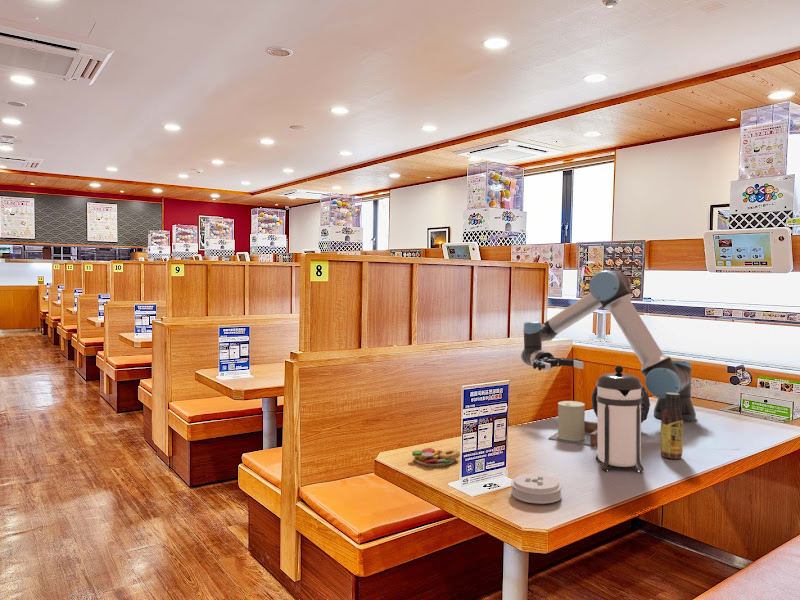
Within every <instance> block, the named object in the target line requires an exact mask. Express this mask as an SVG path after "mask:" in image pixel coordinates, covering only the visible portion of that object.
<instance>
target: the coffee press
mask: <svg viewBox="0 0 800 600" xmlns="http://www.w3.org/2000/svg"><path fill="white" fill-rule="evenodd" d="M614 371H615V372H611V373H610V372H608V373H604V374H602V375H600V376H599V377H598V379H597V381H596V382H595V386H596V385H597V416H596V419H597V422H596V423H597V432H598V444H597V455H596V456H595V460H596V461H597V460H599V461H598V462H602V463H603V464H602V468H601V469H602V471H604V472H607V470H608V472H609V471H610V469H611V467H620V468H621V467H623V468H628V467H631V468H633V469H634V470H636V472H637V471H638V470H640V473H643V472H644V467H643V466H642V463H641V461H642V459H641V458H642V423H641V404H642V397H641V389H642V387H644V386H643V383H642V382H641V380H640V378H638V376H636V375H633V374H629V373H623V371H624V368H623V366H622V365H617V366H615V368H614ZM642 471H643V472H642Z"/></svg>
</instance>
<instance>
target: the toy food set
mask: <svg viewBox="0 0 800 600" xmlns="http://www.w3.org/2000/svg"><path fill="white" fill-rule="evenodd" d="M411 453H412V455H411V456H413V457H414V458H413V460H414V461H415V462H416V463H418V464H419V465H421V466H425V467H433V468H438V467H439V468H441V467H446V466H449V465H452V464H453V463H454V462H455V461H456V460H457V459H458V458H460V457H461V452H460V450H458V449H453V448H452V449H447V450H445V451H444V450H443V451H442V450H439V449H438V450H435V448H432V447H428V448H424V449H422V450H414V451H412V452H411Z"/></svg>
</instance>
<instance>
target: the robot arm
mask: <svg viewBox="0 0 800 600" xmlns="http://www.w3.org/2000/svg"><path fill="white" fill-rule="evenodd" d="M588 285H589V286H588V288H589V293H587V294H585V295H584V296H583V297H581V298H580V299H578V300H577V301H575V302H573V303H572V304H571V305H569V306H567V307H566V308H565V309H563V310H561V311H560V312H558V313H557V314H555V315H554V316H552V317H551V318H549V319H547V320H546V321H545V322H543V323H542V324H541V322H540V321H525V322H523V350H522V352H521V353H520V358H521V361H522V362H523V363H524V364H526V366H529V367H532V368H533V369H534V370H535V369H537V370H538V371H542V370H543V371H548V372H551V371H552V368H553V367H562V366H565V367H573V368H576V369H580V370H584V368H585V367H584V366H585V365H584V361H581V359H580V358H579V359H578V358H566V357H555V356H554V355H553V354H552V353H551V352H549V351H545V350H543V349H542V346H543V342H546V341H547V342H549V341H552V340H554V339H555V337H557V335H558V334H560V333H562V332H563V331H565V330H567V329H569V328H570V327H571V326H572V325H575V324H576V323H577V322H579V321H581V320H582V319H583V318H586V316H588V315H590V314H592V313H593V312H594V311H596V310H599V308H601V307H602V308H603V309H604V310H607V311H609V312H610V313H611V315H612V317H613V318H614V320H615V323H617V326H619V328H620V330H621V332H622V333H623V335H624V337H625V338H626V340H627V342H628V344H629V345H630V347H631V348H632V350H633V352H634V354H635V355H636V357H637V358H638V360H639V362H640V364H641V368H640V372H641V373H642V375H643V377H644V378H645V380H644V381H645V383H644V384H645V387H646V389H647V392H649V393H650V394H651V395H652V396H653V397H657V401H656V402H655V406H654V408H653V416H654V417H655V418H657V419H659V418H660V420H661V419H662V413H663V411H664V410H665V408H666V393H678V394H680V399H679V409H680V412H681V415H682V418H683V423H685V422H693V421H696V419H697V412H696V410H695V408H694V404H693V401H692V370H693V369H692V363H691V362H690V361H689V360H679V359H672V358H671V356H670V355H666V354H664V353H663V352H662V350H661V348H660V347H659V345H658V344H657V342H656V340H655V338H654V337H653V335H652V334H651V332H650V330H649V329H648V327H647V325H646V324H645V322H644V320H643V319H642V317H641V316H640V314H639V312H638V310H637V309H636V308H635V306H634V304H633V302H632V301H631V298H632V293H631V291H630V288H631V282H630V279H629V277H628V275H626V273H624V272H622V271H619V270H606V269H605V270H602V271H598V272H597V273H595V274H594V275H593V276H592V277H591V279H590V281H589V283H588Z"/></svg>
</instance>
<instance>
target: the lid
mask: <svg viewBox="0 0 800 600" xmlns="http://www.w3.org/2000/svg"><path fill="white" fill-rule="evenodd" d="M510 484H511V488H512V489H511V491H510V492H511V495H512V496H513V498H515V499H517V500H519V501H522V502H526V503H531V504H540V505H541V504H552V503H555V502H558V501H560V500H562V497H563V495H562V492H561V491H562V487H563V485H562V483H561V482H560V481H558V480H557V479H556V478H554V477H553V476H550V475H546V474H540V473H525V474H520V475H517V476H516V477H515V478H513V479H512V480H511V483H510Z"/></svg>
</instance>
